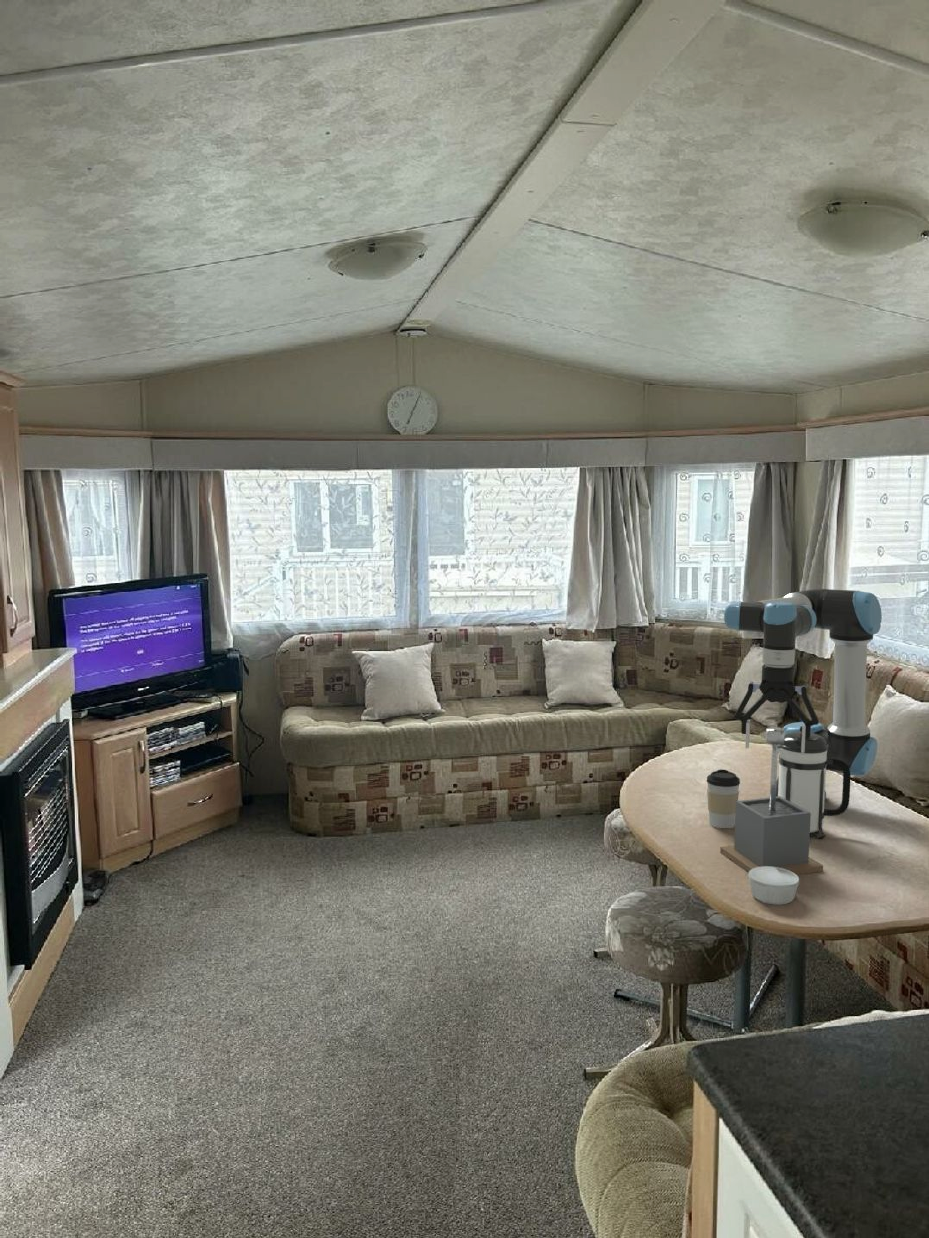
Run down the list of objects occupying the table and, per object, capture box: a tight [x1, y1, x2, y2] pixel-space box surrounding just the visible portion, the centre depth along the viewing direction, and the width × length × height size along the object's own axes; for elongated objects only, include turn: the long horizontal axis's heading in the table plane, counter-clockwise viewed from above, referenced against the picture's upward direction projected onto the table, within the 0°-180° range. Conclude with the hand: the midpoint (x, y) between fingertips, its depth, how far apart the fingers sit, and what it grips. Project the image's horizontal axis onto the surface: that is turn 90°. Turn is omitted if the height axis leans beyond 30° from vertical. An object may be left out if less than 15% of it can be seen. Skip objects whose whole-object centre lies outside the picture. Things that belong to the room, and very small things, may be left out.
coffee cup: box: [706, 769, 741, 829], centre depth 270 cm, size 9×9×15 cm
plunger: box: [747, 726, 798, 816], centre depth 241 cm, size 10×10×22 cm
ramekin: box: [747, 866, 800, 906], centre depth 224 cm, size 11×11×5 cm
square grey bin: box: [719, 796, 824, 876], centre depth 243 cm, size 18×18×14 cm
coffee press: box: [778, 726, 851, 840], centre depth 263 cm, size 17×16×30 cm
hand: (774, 749), depth 240 cm, fingers open, 12 cm apart
